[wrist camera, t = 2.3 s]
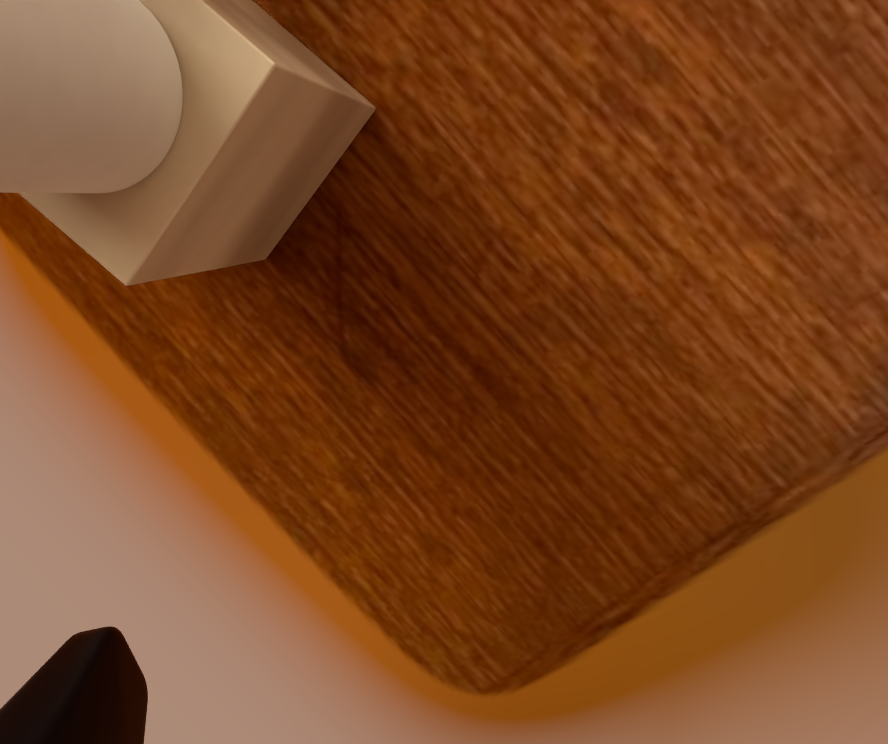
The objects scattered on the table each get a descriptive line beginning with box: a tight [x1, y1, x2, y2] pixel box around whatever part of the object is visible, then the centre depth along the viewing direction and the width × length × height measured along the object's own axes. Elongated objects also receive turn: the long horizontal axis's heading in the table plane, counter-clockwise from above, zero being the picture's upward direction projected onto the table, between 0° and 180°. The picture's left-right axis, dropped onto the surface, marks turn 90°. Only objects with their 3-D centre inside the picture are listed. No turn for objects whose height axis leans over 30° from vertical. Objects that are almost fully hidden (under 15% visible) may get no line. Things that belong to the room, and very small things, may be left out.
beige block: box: [19, 0, 376, 286], centre depth 17 cm, size 5×5×6 cm
